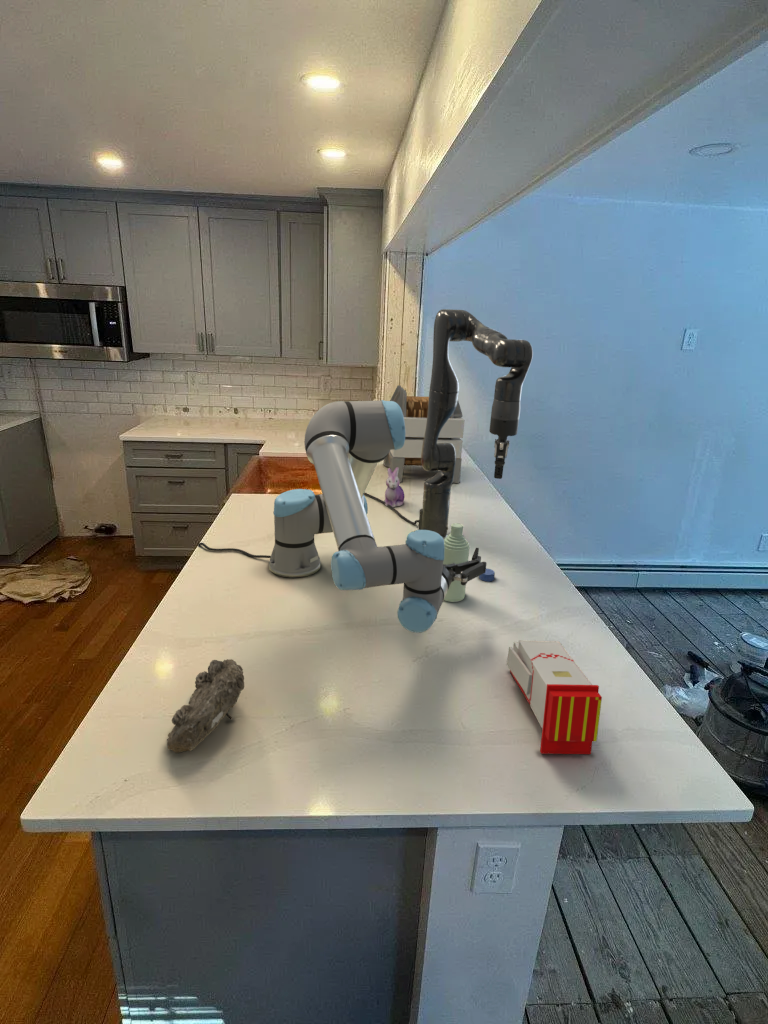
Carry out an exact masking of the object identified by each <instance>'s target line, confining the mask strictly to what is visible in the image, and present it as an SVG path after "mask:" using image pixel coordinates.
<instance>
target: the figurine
mask: <svg viewBox="0 0 768 1024" xmlns="http://www.w3.org/2000/svg"><path fill="white" fill-rule="evenodd" d="M398 471H399V468H398V467H397V468H396V469H395V470H394V472H392V471H391V469H390V467H388V468H387V478H386V479H385V484H386V485H385V486H386V489H385V492H384V498H385V499H384V500H383V501H384V502H386V504H384V505H385V507H388V506H387V505H388V504H389V505H390V506H392V507H393V508H395V507H400V506H403V505H404V502H405V490H404V489H403V487H402V486H401V485H400V484H401V482H400V481H399V479H398V476H397V475H398Z"/></svg>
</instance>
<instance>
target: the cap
mask: <svg viewBox="0 0 768 1024" xmlns="http://www.w3.org/2000/svg"><path fill="white" fill-rule="evenodd" d="M495 575H496V572H495V570H494V569H491V568H487V567H486V571H485V573H484V574H482V575H480V576H478V578H479V580H481V581H483V582H493V581H494V580H495Z"/></svg>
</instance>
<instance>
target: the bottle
mask: <svg viewBox="0 0 768 1024" xmlns="http://www.w3.org/2000/svg"><path fill="white" fill-rule="evenodd" d="M463 531H464V525H463V524H462V523H459V522H454V523H451V525H450V533H449V534H447V537H446V538H445V539H444V562H443V564H446V565H448V564H452V563H455V564H459V563H463V562H467V561H469V557H470V548H471V546H470V543H469V541H468V540H467V539H466V537H465V535H464V534H463V533H464V532H463ZM451 569H452V568H451ZM466 586H467V584H466V585H461V582H460V581H457V580H454V581H453V582H451V585H450V587H449V589H448V591H447V593H446V596H445V598H444V600H443V601H445V602H450V603H457V602H461V601H463V600H464V599H465V596H466Z"/></svg>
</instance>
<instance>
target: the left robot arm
mask: <svg viewBox="0 0 768 1024" xmlns="http://www.w3.org/2000/svg"><path fill="white" fill-rule="evenodd" d="M303 442H304V449H305V454H306V458H307V459H308V461H309V462H310V464H312V465H313V466H314V469H315V473H316V476H317V480H318V483H319V487H320V491H321V494H316V493H315V492H314V491H313V490H312V489H308V488H307V489H306V488H304V489H303V488H295V489H291V490H287V491H284V492H281V493H280V494H278V495H277V496H276V497H275V499H274V502H273V511H272V512H273V516H274V517H273V519H274V545H273V548H272V551H271V554H270V555H266V554H265V555H264V554H259V555H258V554H253V553H249V552H248V551H246V550H243V549H240V548H234V547H233V548H232V547H231V548H230V547H228V548H213V547H209V546H208V545H207V544H205V543H204V542H199V543H197V547H200V546H202V547H203V548H204V549H207V550H208V551H212V552H238V553H242V554H244V555H246V556H248V557H251V558H256V559H269V562H268V568H269V571H270V572H271V573H272V574H274V575H276V576H278V577H283V578H291V579H294V578H295V579H296V578H304V577H308V576H311V575H314V574H315V573H317V572H318V571H320V569H321V558H320V555H319V552H318V550H317V546H316V543H315V535H319V534H331V533H333V537H334V540H335V543H336V547H337V550H338V551H335V552H334V553H333V554H332V555H331V559H330V570H331V577H332V580H333V581H332V582H333V583H334V586H335V587H336V588H337V589H338V590H341V591H357V590H358V591H360V590H364V589H368V588H376V587H382V586H383V587H384V586H388V585H389V586H391V585H400V584H403V591H402V600H401V601H400V602H399V605H398V609H397V613H396V614H397V615H396V617H397V620H398V622H399V623H400V625H401V627H403V628H404V629H405V630H407V631H408V632H412V633H418V634H419V633H424V632H426V631H428V630H429V629H430V628H431V627H432V626H433V625H434V623H435V622H436V620H437V618H438V614H439V612H440V609H441V607H442V605H443V603H444V601H445V600H444V598H445V596H446V593H447V591H448V589H449V587H450V585H451V582H453V581H454V580H457V581H460V582H461V585H466V586H467V584H468V582H470V581H472V580H474V579H476V578H479V576H480V575H482V574H484V573H485V571H486V568H487V562H486V561H482V556H481V555H479V552H480V548H479V547H475V549H474V551H473V554H472V556H471V560H468V561H467V562H463V563H459V564H455V563H452V564H448V565H446V564H443V562H444V539H443V538H442V536H440V535H439V534H438V533H436V532H433V531H429V530H418V529H415V530H414V531H410V532H409V533H408V534H407V535H406V540H405V543H404V544H403V543H402V544H394V545H384V546H378V544H377V542H376V539H375V535H374V533H373V530H372V527H371V523H370V521H369V518H368V511H369V510H368V502H367V498H366V495H364V492H365V493H366V490H367V487H368V485H369V484H370V481H371V479H372V476H373V474H374V472H375V470H376V468H377V465H378V464H379V463H381V462H384V459H385V458H386V457H387V455H388V453H389V451H390V450H392V449H393V450H397V449H401V448H402V447H403V445H404V442H405V422H404V416H403V413H402V410H401V408H400V406H399V405H398V404H397V403H396V402H394V401H390V400H384V399H380V400H349V401H348V400H347V401H345V400H337V401H333V402H332V401H331V402H329V403H327V404H325V405H323V406H322V407H320V408H318V410H317V411H316V412H315V413H314V414H313V416H312V417H311V419H310V420H309V422H308V424H307V427H306V430H305V433H304V441H303ZM451 568H452V569H451Z"/></svg>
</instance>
